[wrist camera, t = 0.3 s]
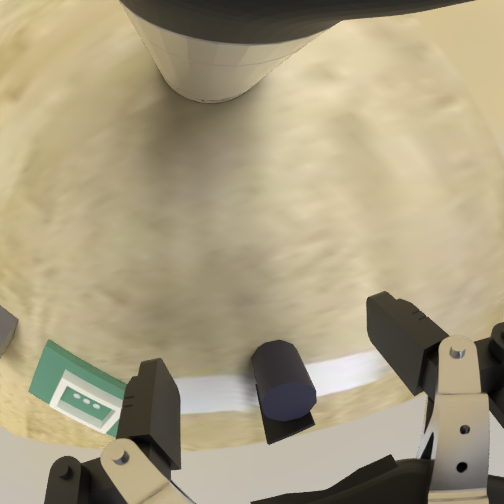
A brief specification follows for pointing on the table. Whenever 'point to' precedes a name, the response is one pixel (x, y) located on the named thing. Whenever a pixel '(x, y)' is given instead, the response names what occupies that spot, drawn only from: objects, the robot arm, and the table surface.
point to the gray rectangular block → (6, 329)
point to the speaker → (283, 390)
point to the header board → (78, 389)
